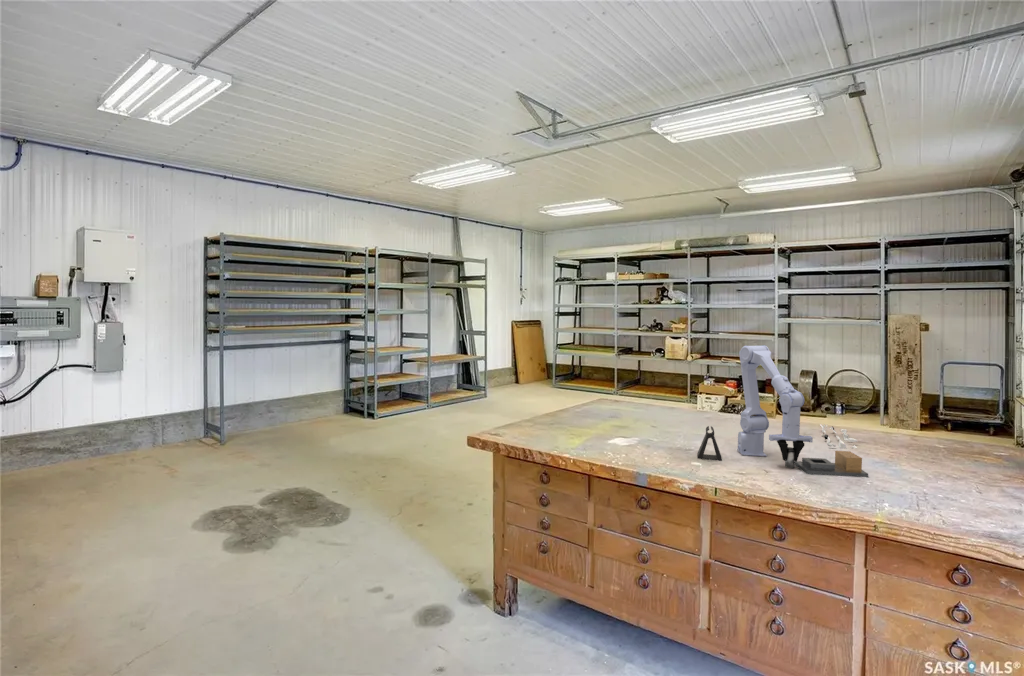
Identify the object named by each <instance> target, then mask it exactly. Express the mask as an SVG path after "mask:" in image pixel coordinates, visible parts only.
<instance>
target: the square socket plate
mask: <svg viewBox="0 0 1024 676" xmlns="http://www.w3.org/2000/svg"><path fill="white" fill-rule="evenodd" d="M834 451H835V452H834V453H835V456H834V462H831V461H830V460H828V459H827V458H823V457H822V458H817V457H815V458H814V457H802V458H801V461H799V460H797V461H794V466H796V467H797V468H798V469H800V470H801V471H802V472H804V473H805V474H806V475H818V476H819V475H820V476H836V477H837V476H840V477H841V476H842V477H857V478H858V477H861V478H862V477H863V478H865V477H866V478H869V473H868V472H866V471H865V470H863V469H862V468H863V466H862V465H863V458H862V457H860V456H859V455H857V454H855V453H853V451H849V450H848V451H847V450H834Z"/></svg>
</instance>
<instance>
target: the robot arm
mask: <svg viewBox="0 0 1024 676" xmlns="http://www.w3.org/2000/svg"><path fill="white" fill-rule="evenodd" d="M738 353H739V362H740V372H741V378H742V387H743V388H742V389H743V395H744V403H745V408H744V409H743V411H742V412H741V413H740V419H739V420H740V421H739V424H740V428H741V429H742V431H738V434H737V450H736V451H738V453H739V454H740V455H741V456H751V457H752V456H754V457H755V456H756V457H757V456H758V457H767V456H768V454H766V453H765V452H764V449H765V447H764V445H765V443H764V442H765V433H766V431H767V430H768V429H769V427H770V421H769V419H768V416H767V412H766V411H765V410H764V409H763V408H762V407H761V401H760V394H759V385H758V378H757V377H758V376H757V371H756V369H758V367H759V366H761V367H762V368H763V369H764V371H765V372H766V373H767V374H768V376H769V377H770V379H771V386H772V387H773V389H774V390H775V392H776V393H777V394H778V396H779V398H778V399H779V400H778V401H779V404H780V406H781V408H780V410H781V411H782V426H781V427H782V429H781V433H779V434H778V433H777V434H768V441H770V442H774V441H775V442H776V443H777V445H778V447H779V449H780V452H781V456H782V460H783V461H784V462H785V461H787V447H789V443H787V442H792V448H795V458H794V461H798V458H799V456H800V453H801V451H802V450H803V448H804V447H805V442H807V443H813V441H814V440H813V438H814V437H813V436H811V435H801V434H800V429H801V408H802V407H803V406H804V404H805V397H804V395H803V393H802V392H800V391H799V390H797V389H795V388H794V387H793V385H792V383H791V382H790V381H789V378H788V377H787V376H785V375H782V374H781V373H780V371H779V369H778V368H777V366H776V364H775V363H774V361H773V359H772V351H771V350H770V349H769V347H768V346H767V345H743V346H742V347H741V348H740V350H739V352H738Z"/></svg>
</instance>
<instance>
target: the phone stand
mask: <svg viewBox="0 0 1024 676" xmlns="http://www.w3.org/2000/svg"><path fill="white" fill-rule="evenodd" d="M710 429H711V432H708V431H710ZM709 439H711V440H712V443H713V448H714V449H713V450H714V452H715V454H705V451H706V447H707V445H708V442H709ZM696 454H697V456H696V457H697V459H698V460H710V461H723V458H722V454H721V451H720V449H719V445H718V443H717V440H716V438H715V429H714V427H713V426H712V425H711V426H710V427H709V425H708V426H706V428H705V435H704V436H703V439H702V442H701V444H700V447H699V449H698V451H697V453H696Z"/></svg>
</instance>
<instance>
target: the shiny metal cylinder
mask: <svg viewBox="0 0 1024 676" xmlns="http://www.w3.org/2000/svg"><path fill="white" fill-rule="evenodd" d="M794 458H795V448H793V446H792V447H790V446H788V447H787V461H784V462H785V463H784V466H785V467H786V468H787V469H794V468H795V464H794Z"/></svg>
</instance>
